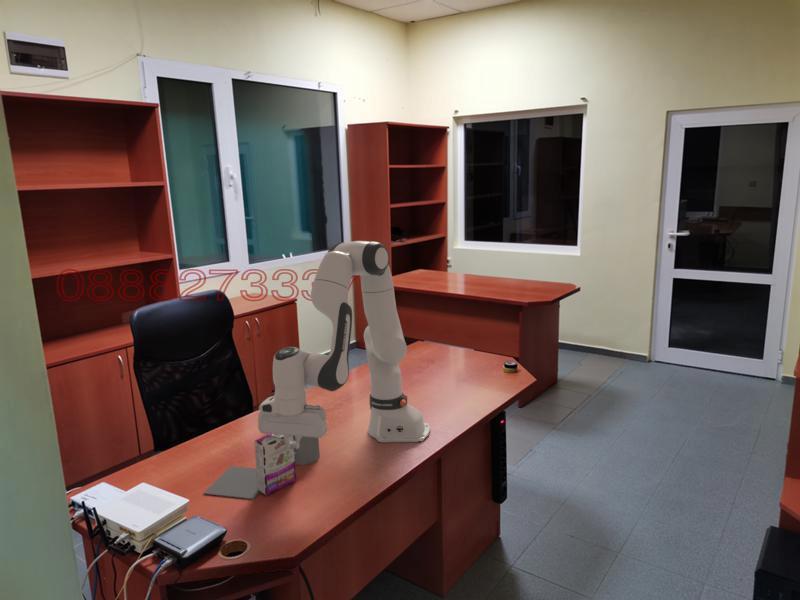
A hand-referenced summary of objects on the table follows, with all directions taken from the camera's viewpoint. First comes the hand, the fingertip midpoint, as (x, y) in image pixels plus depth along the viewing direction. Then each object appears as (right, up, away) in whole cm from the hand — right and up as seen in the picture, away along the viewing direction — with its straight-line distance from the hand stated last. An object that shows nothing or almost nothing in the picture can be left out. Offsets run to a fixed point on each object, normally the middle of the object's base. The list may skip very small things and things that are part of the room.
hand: (293, 447), depth 165 cm
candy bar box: (-6, -13, +4) cm, 15 cm away
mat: (-17, -12, +7) cm, 22 cm away
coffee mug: (0, -9, +23) cm, 25 cm away
